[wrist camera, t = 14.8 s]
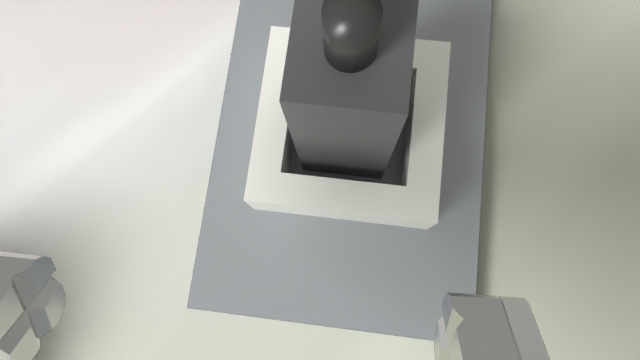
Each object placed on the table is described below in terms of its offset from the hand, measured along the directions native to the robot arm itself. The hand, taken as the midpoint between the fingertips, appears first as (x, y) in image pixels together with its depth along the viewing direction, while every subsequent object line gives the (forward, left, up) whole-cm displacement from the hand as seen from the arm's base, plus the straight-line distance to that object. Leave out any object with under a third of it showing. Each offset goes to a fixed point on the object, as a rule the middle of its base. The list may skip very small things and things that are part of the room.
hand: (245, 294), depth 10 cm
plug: (+7, -3, -12) cm, 14 cm away
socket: (+7, -3, -13) cm, 15 cm away
